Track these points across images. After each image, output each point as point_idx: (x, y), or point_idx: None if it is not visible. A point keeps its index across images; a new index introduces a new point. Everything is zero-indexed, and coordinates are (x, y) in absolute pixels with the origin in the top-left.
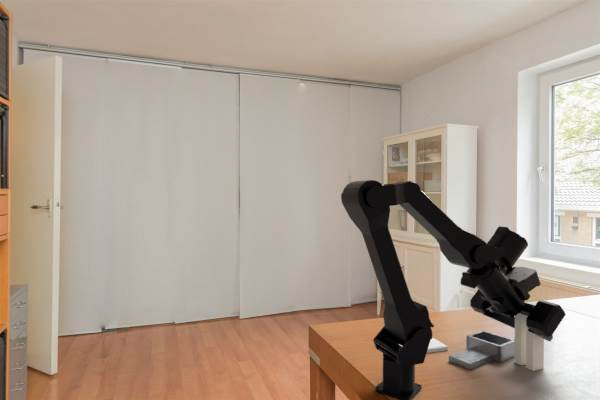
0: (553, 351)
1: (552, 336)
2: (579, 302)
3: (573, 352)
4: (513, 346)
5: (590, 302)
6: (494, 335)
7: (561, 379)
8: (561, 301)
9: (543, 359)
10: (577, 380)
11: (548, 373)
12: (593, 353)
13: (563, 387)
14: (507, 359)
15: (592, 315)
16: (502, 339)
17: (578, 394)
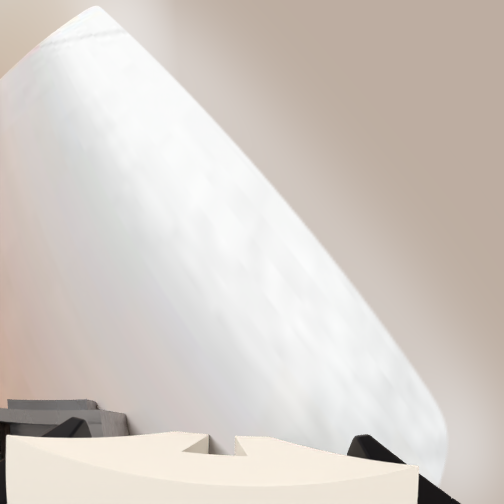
0: (167, 235)
1: (378, 444)
2: (86, 18)
3: (207, 188)
4: None
5: (99, 12)
6: (11, 421)
7: None
8: (63, 29)
9: (274, 438)
10: (382, 400)
11: None
12: (239, 151)
13: None
14: None
15: (120, 29)
16: (47, 424)
17: (441, 476)
